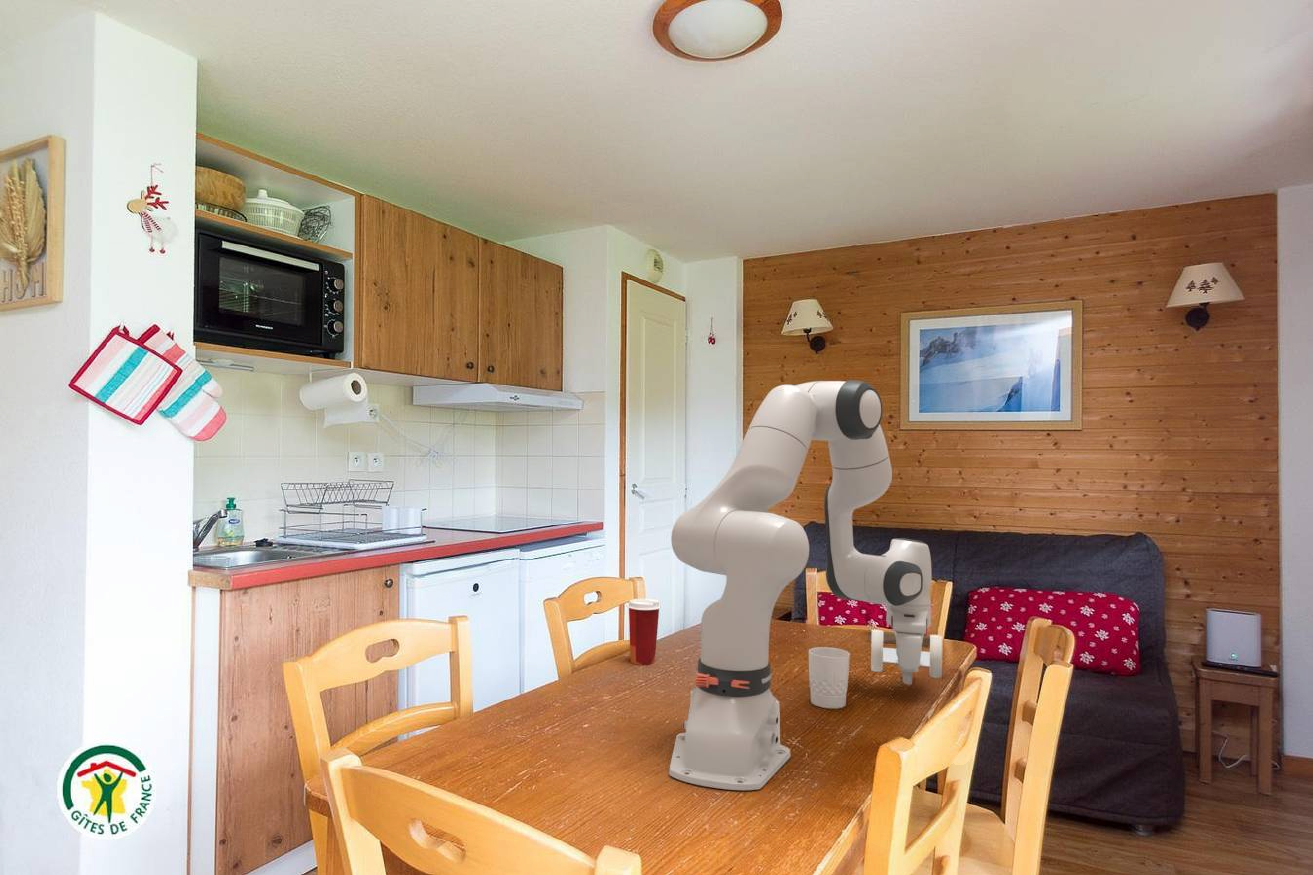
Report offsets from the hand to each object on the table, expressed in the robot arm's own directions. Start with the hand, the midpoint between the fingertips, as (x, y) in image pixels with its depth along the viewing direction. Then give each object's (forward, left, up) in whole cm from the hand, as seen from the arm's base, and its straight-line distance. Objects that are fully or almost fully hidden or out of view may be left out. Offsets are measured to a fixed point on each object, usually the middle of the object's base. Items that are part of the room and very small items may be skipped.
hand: (907, 682), depth 157 cm
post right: (+13, -6, -2) cm, 15 cm away
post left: (+13, +6, -2) cm, 15 cm away
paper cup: (-1, +58, -2) cm, 58 cm away
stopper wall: (+42, 0, -2) cm, 42 cm away
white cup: (-15, +15, -2) cm, 21 cm away
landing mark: (+28, 0, -2) cm, 28 cm away
